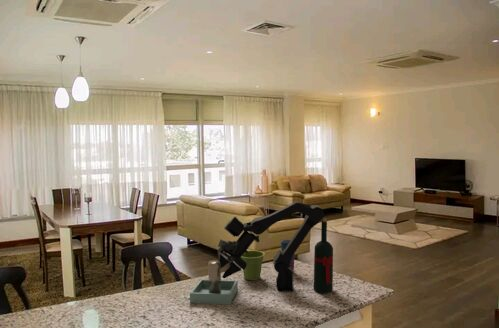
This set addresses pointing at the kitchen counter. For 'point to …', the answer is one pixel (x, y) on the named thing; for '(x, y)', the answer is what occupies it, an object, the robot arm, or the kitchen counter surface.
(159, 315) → the kitchen counter surface
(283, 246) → the cup
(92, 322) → the kitchen counter surface
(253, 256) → the plant pot
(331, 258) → the wine bottle
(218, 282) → the canister
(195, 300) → the tray
